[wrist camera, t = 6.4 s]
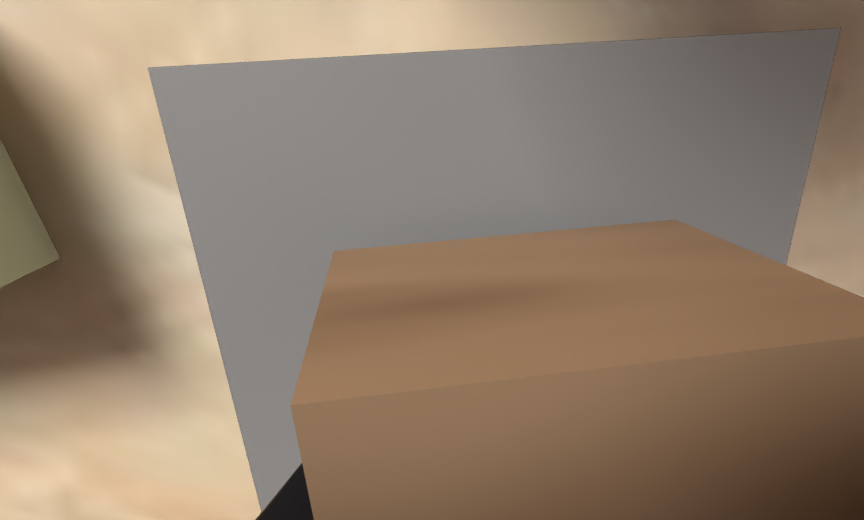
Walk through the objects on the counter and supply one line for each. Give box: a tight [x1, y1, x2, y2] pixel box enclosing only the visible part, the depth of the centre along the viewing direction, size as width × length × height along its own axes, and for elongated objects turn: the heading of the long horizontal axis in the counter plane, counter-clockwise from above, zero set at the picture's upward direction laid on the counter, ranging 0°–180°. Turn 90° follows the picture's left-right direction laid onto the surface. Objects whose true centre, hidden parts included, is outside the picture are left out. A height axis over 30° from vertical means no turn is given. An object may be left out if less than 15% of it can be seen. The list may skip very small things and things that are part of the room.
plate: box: [148, 28, 841, 512], centre depth 11 cm, size 12×12×2 cm
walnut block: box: [290, 220, 864, 520], centre depth 7 cm, size 6×6×4 cm
